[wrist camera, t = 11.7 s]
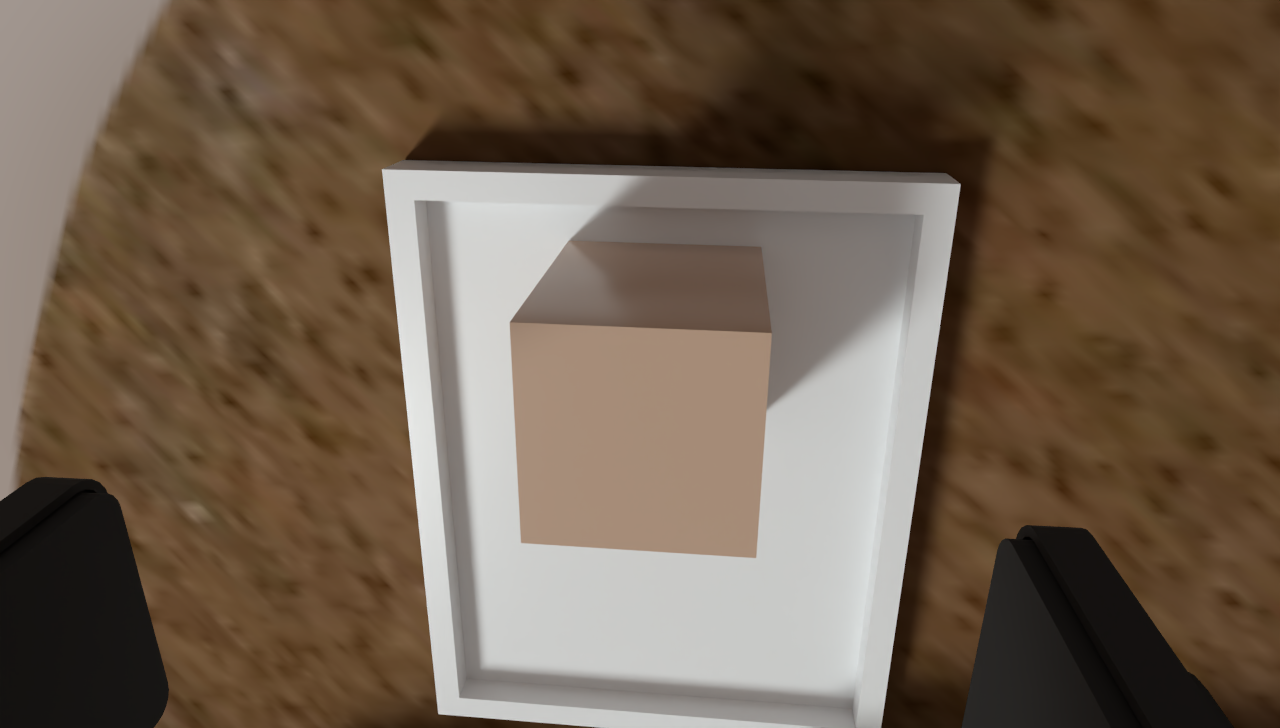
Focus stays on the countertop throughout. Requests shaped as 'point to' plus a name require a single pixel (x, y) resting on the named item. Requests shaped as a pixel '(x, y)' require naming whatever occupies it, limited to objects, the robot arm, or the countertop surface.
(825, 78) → the countertop surface
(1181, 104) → the countertop surface
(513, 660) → the tray
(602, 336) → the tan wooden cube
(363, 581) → the countertop surface
